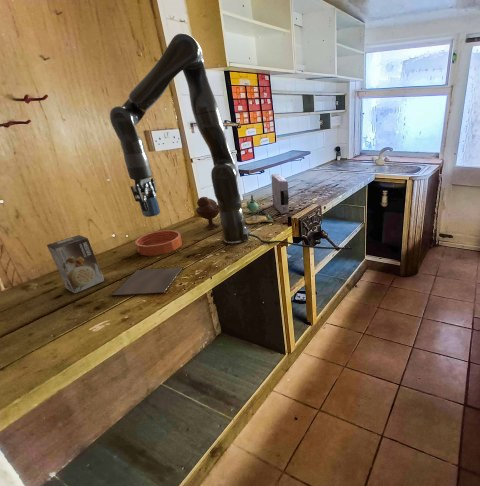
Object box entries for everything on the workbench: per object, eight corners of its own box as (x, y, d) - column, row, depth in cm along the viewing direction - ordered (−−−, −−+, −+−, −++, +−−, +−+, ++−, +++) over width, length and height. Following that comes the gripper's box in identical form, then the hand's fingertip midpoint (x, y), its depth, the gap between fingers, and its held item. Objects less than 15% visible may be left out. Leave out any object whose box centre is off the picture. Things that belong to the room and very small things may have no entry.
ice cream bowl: (216, 231, 145) (210, 200, 139) (195, 230, 147) (188, 199, 141) (227, 223, 154) (222, 193, 148) (207, 222, 156) (201, 193, 150)
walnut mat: (182, 268, 112) (182, 267, 112) (164, 293, 98) (164, 292, 98) (137, 271, 112) (137, 269, 111) (112, 296, 97) (111, 294, 97)
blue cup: (163, 211, 126) (158, 194, 123) (156, 216, 121) (151, 199, 118) (147, 212, 126) (142, 195, 123) (140, 217, 120) (134, 200, 118)
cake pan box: (290, 213, 166) (288, 180, 158) (281, 214, 164) (278, 181, 157) (281, 203, 182) (278, 173, 174) (272, 205, 180) (269, 174, 173)
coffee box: (96, 276, 109) (79, 234, 102) (105, 281, 106) (89, 237, 99) (65, 288, 102) (46, 244, 95) (74, 294, 99) (54, 248, 92)
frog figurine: (266, 227, 148) (260, 197, 142) (236, 226, 155) (229, 197, 150) (277, 220, 156) (271, 191, 150) (248, 220, 163) (241, 192, 157)
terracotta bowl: (187, 238, 138) (185, 229, 136) (173, 255, 123) (170, 245, 121) (149, 240, 137) (146, 231, 135) (130, 257, 122) (127, 247, 120)
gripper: (138, 168, 109) (151, 213, 116) (156, 161, 122) (167, 202, 129) (116, 169, 109) (131, 214, 116) (137, 162, 122) (148, 203, 129)
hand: (150, 208), depth 122 cm, fingers closed on blue cup, 6 cm apart
